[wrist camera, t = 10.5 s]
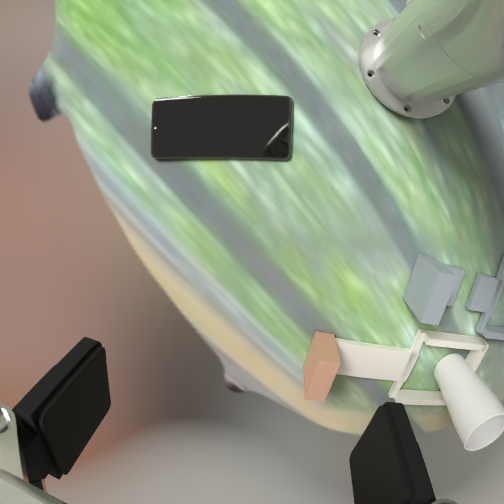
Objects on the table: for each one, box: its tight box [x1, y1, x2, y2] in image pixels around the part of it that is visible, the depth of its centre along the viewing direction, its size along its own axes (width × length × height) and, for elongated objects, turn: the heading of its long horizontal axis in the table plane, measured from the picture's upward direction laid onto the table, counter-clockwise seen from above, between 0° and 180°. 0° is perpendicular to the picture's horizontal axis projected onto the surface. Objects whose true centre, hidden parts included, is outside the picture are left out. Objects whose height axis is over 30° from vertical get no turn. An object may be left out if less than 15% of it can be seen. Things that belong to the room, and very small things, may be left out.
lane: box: [303, 329, 489, 405], centre depth 37 cm, size 11×26×6 cm, turn 80°
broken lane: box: [403, 254, 504, 340], centre depth 32 cm, size 11×26×6 cm, turn 80°
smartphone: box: [151, 95, 293, 160], centre depth 34 cm, size 7×1×16 cm
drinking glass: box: [434, 353, 504, 451], centre depth 32 cm, size 7×7×15 cm
